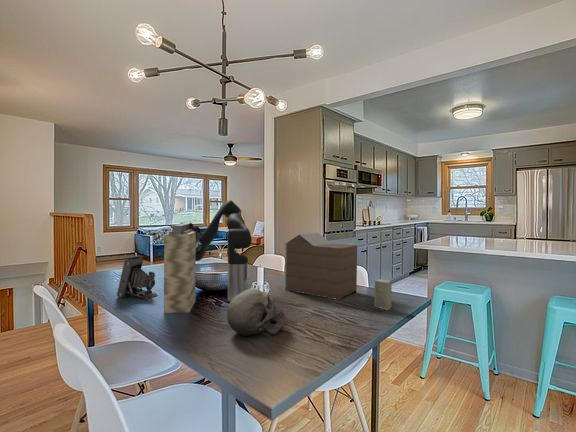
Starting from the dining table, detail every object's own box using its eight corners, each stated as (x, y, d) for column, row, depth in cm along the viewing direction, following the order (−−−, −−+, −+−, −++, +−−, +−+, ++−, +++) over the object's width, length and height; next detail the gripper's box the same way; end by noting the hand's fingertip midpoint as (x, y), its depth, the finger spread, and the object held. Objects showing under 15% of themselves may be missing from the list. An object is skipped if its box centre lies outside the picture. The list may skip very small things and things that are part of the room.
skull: (297, 322, 106) (255, 283, 102) (263, 361, 103) (219, 322, 99) (286, 310, 119) (248, 275, 115) (256, 344, 116) (216, 310, 112)
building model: (301, 283, 186) (302, 231, 185) (356, 292, 166) (357, 234, 165) (282, 289, 170) (283, 233, 170) (340, 300, 150) (341, 237, 150)
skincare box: (391, 308, 138) (392, 280, 138) (387, 311, 135) (387, 282, 135) (378, 305, 142) (378, 278, 142) (373, 307, 139) (374, 280, 139)
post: (195, 301, 146) (195, 229, 145) (189, 312, 130) (190, 231, 129) (172, 301, 144) (172, 229, 144) (163, 313, 128) (164, 231, 128)
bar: (191, 230, 155) (191, 223, 154) (181, 234, 129) (181, 225, 129) (184, 230, 154) (184, 223, 154) (172, 234, 128) (172, 225, 128)
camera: (144, 308, 146) (155, 266, 145) (113, 296, 149) (123, 255, 148) (158, 301, 157) (168, 263, 156) (129, 291, 160) (139, 253, 159)
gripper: (177, 233, 163) (170, 217, 149) (205, 233, 165) (201, 217, 151) (175, 246, 160) (168, 231, 145) (204, 246, 162) (200, 231, 147)
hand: (185, 224), depth 148 cm, fingers closed on bar, 3 cm apart
